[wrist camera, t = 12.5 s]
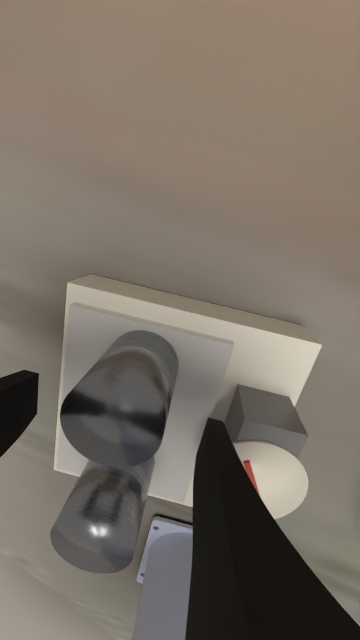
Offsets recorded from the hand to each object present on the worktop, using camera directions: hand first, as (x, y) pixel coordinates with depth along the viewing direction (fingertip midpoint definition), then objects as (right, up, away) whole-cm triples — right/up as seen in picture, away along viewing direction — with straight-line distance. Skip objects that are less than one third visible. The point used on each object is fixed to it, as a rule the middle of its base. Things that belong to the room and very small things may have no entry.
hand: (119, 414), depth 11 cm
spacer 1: (0, +2, +4) cm, 4 cm away
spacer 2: (-1, -5, +6) cm, 8 cm away
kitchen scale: (+2, -1, +8) cm, 9 cm away
